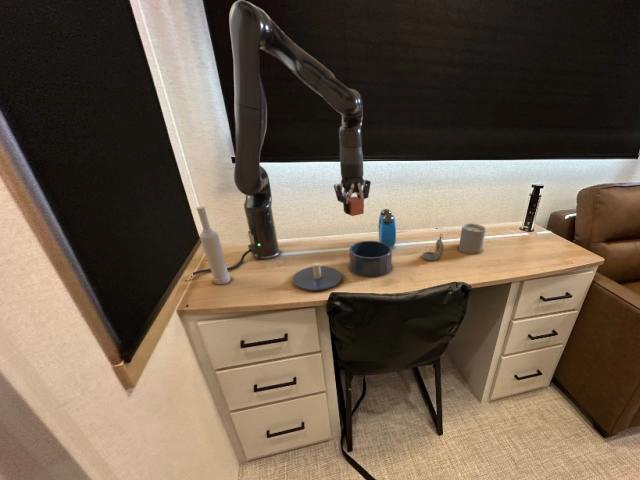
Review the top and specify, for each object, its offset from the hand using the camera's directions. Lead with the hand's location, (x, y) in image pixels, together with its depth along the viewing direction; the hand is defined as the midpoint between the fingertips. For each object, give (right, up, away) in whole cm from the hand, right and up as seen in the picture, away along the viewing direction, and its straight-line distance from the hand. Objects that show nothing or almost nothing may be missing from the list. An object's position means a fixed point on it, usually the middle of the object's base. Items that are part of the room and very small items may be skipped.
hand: (354, 211), depth 113 cm
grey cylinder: (+47, -8, +28) cm, 56 cm away
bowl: (+5, -19, +8) cm, 21 cm away
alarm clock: (+10, -8, +26) cm, 29 cm away
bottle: (-44, -25, -6) cm, 51 cm away
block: (0, 0, 0) cm, 0 cm away
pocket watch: (+30, -14, +18) cm, 38 cm away
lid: (-12, -24, -3) cm, 27 cm away
